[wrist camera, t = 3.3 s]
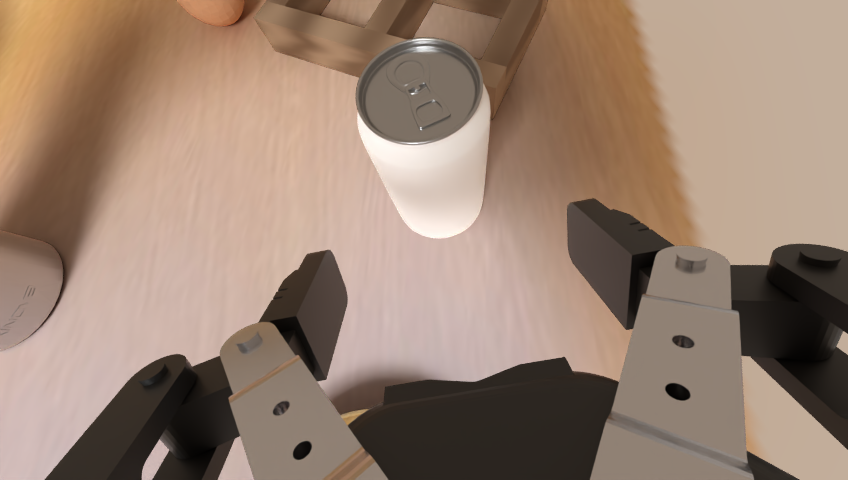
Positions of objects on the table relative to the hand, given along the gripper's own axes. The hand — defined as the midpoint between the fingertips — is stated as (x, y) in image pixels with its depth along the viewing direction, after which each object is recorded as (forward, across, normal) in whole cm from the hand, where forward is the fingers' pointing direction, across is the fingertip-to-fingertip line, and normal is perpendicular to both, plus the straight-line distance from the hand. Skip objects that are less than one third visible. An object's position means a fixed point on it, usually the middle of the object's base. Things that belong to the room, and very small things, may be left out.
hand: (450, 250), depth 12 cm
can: (+15, 0, +4) cm, 15 cm away
